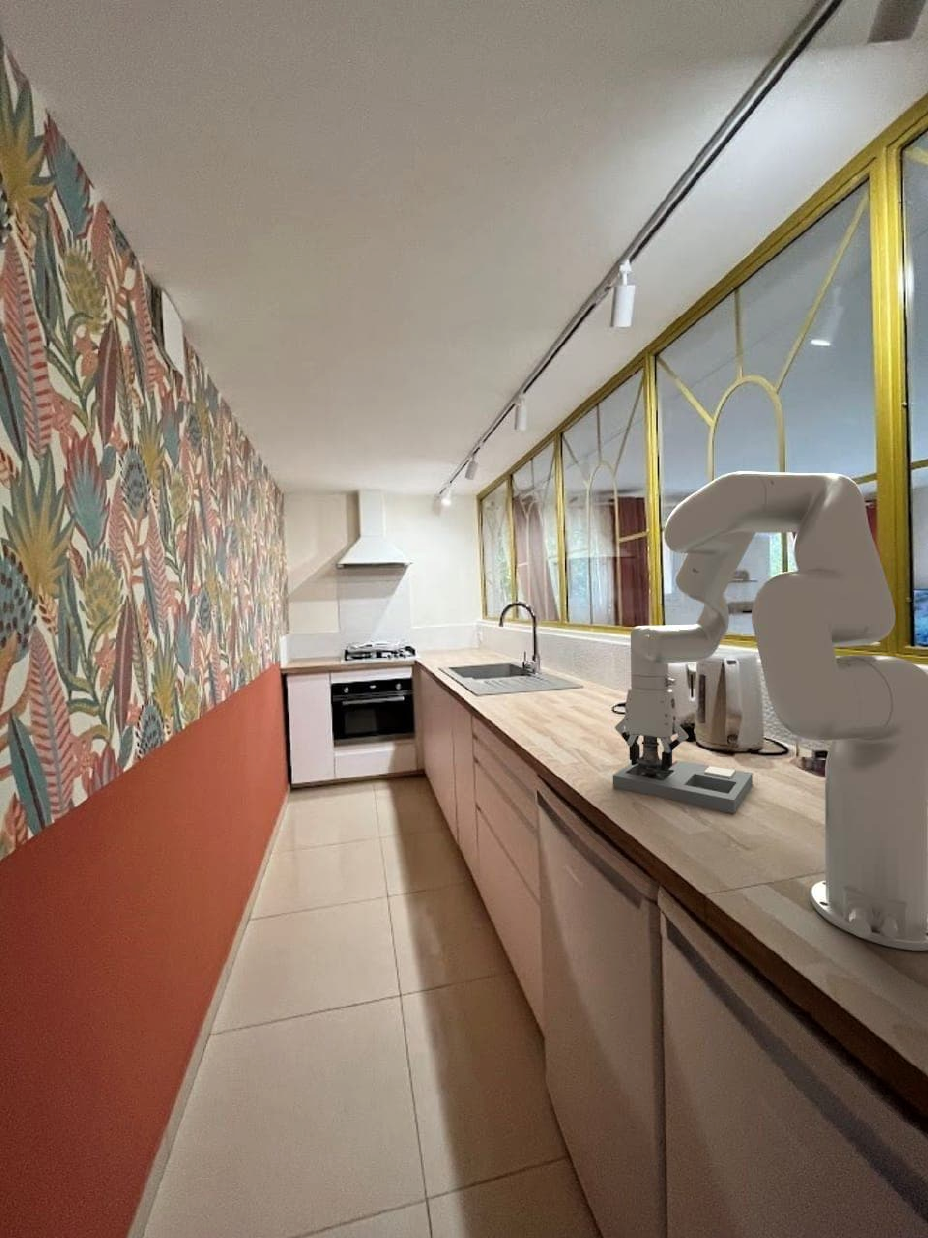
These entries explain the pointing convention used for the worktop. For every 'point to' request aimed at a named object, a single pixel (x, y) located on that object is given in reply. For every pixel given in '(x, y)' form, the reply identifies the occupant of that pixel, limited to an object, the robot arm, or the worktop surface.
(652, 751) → the salt shaker
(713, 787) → the socket board
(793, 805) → the worktop surface
